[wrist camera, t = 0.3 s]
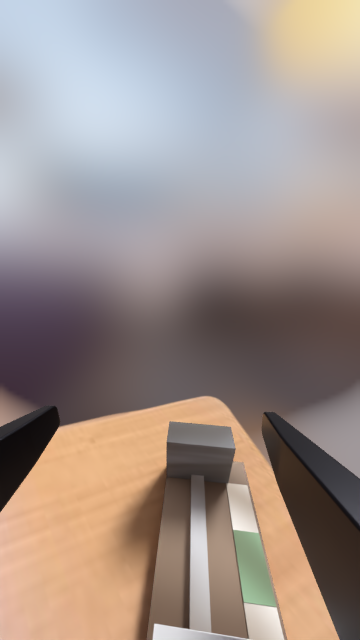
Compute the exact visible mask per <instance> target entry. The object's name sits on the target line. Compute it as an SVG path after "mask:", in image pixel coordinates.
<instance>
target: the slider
mask: <svg viewBox="0 0 360 640" xmlns="http://www.w3.org/2000/svg"><path fill="white" fill-rule="evenodd" d="M153 640H251V639H245V638H239V637H233V636H227V635H221V634H214V633H208V632H202V631H196V630H190V629H184V628H178V627H172V626H166V625H160V624H154V631H153Z"/></svg>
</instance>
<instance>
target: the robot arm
mask: <svg viewBox="0 0 360 640" xmlns="http://www.w3.org/2000/svg"><path fill="white" fill-rule="evenodd" d="M59 425H60V418H59V413H58V409H57V407H56V406H44V407H42V408H40V409H38V410H36V411H33V412H31V413H29V414H27V415H25V416H23V417H21V418H19V419H16V420H14V421H12V422H10V423H8V424H5V425H3V426H1V427H0V512H1V511H2V509H3V508H4V507H5V505H6V504H7V503H8V501H9V500H10V498H11V497H12V496H13V494H14V493H15V492H16V490H17V489H18V487H19V486H20V485H21V483H22V482H23V481H24V479H25V478H26V476H27V475H28V474H29V472H30V471H31V469H32V468H33V467H34V465H35V464H36V462H37V461H38V459H39V457H40V456H41V454H42V453H43V451H44V450H45V448H46V446H47V445H48V443H49V442H50V440H51V438H52V437H53V435H54V434H55V432H56V431H57V429H58V427H59ZM262 435H263V438H264V441H265V445H266V448H267V451H268V455H269V458H270V461H271V465H272V468H273V471H274V474H275V478H276V481H277V484H278V486H279V489H280V492H281V494H282V497H283V499H284V502H285V504H286V507H287V509H288V512H289V514H290V517H291V519H292V522H293V524H294V527H295V529H296V532H297V534H298V537H299V539H300V542H301V544H302V547H303V549H304V552H305V554H306V557H307V559H308V562H309V564H310V567H311V569H312V572H313V574H314V577H315V579H316V582H317V584H318V587H319V589H320V592H321V594H322V597H323V599H324V602H325V604H326V606H327V609H328V611H329V614H330V616H331V619H332V621H333V624H334V626H335V629H336V631H337V634H338V636H339V639H340V640H360V479H359V478H358V477H357V476H355V475H354V474H353V473H352V472H350V471H349V470H348V469H347V468H345V467H344V466H342V465H341V464H340V463H339V462H338V461H336V460H335V459H334V458H333V457H331V456H330V455H329V454H327V453H326V452H325V451H324V450H322V449H321V448H320V447H318V446H317V445H316V444H315V443H313V442H312V441H311V440H309V439H308V438H307V437H306V436H304V435H303V434H302V433H300V432H299V431H298V430H297V429H295V428H294V427H293V426H291V425H290V424H289V423H288V422H286V421H285V420H284V419H283V418H281V417H280V416H279V415H277V414H276V413H274V412H264V413H263V418H262Z"/></svg>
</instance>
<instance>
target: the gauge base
mask: <svg viewBox="0 0 360 640" xmlns="http://www.w3.org/2000/svg"><path fill="white" fill-rule="evenodd" d="M235 449H236V448H235V444H234V439H233V435H232V431H231V427H225V426H214V425H203V424H192V423H181V422H170V423H169V430H168V437H167V477H166V486H165V494H164V502H163V510H162V518H161V526H160V534H159V542H158V550H157V558H156V566H155V574H154V583H153V591H152V599H151V607H150V615H149V623H148V631H147V639H146V640H153V631H154V624H160V625H166V626H172V627H178V628H184V629H190V630H196V631H202V632H208V633H214V634H221V635H227V636H233V637H239V638H245V639H251V640H287V637H286V633H285V629H284V625H283V620H282V616H281V612H280V608H279V604H278V600H277V596H276V592H275V588H274V584H273V580H272V576H271V572H270V568H269V564H268V560H267V556H266V552H265V548H264V544H263V540H262V535H261V531H260V527H259V523H258V519H257V515H256V511H255V507H254V503H253V499H252V495H251V491H250V487H249V483H248V479H247V475H246V471H245V467H244V463H243V462H234V461H233V458H234V454H235Z"/></svg>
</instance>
